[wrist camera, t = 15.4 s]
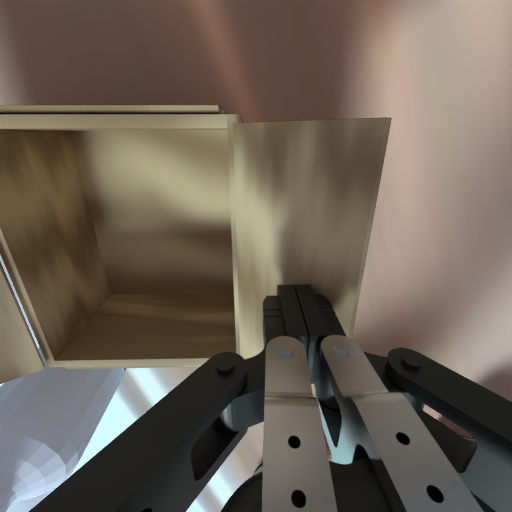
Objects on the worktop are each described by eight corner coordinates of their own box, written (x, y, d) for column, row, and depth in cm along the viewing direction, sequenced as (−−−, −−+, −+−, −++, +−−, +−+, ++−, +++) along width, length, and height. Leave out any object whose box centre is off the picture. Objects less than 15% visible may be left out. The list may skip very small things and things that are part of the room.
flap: (244, 362, 19) (334, 431, 15) (240, 366, 19) (330, 437, 14) (238, 123, 13) (391, 117, 8) (232, 123, 13) (386, 117, 8)
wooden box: (246, 299, 28) (245, 367, 20) (109, 301, 28) (50, 371, 20) (243, 116, 21) (239, 104, 13) (60, 116, 21) (-64, 104, 13)
